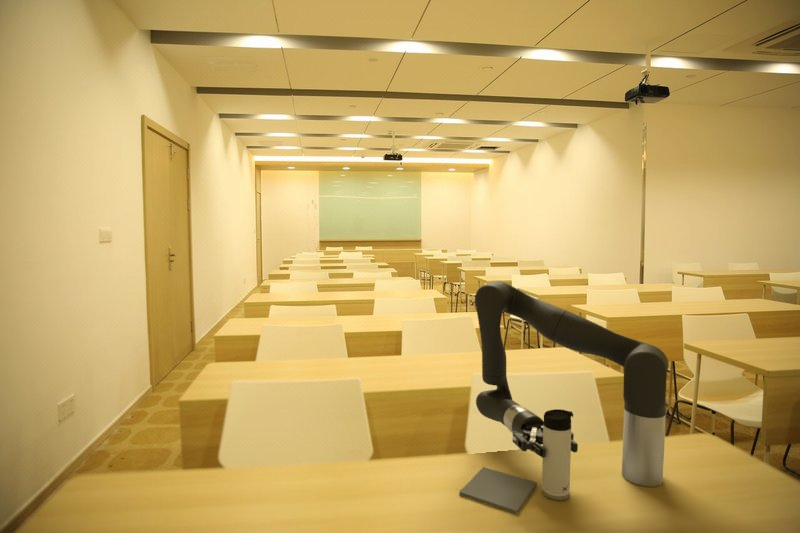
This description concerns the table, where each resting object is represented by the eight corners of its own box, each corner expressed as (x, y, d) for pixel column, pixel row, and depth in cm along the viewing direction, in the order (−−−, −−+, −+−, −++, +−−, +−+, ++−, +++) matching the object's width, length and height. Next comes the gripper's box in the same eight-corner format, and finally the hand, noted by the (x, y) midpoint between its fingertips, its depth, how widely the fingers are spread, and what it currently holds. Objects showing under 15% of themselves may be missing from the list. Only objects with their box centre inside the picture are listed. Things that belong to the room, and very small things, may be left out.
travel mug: (572, 502, 111) (575, 418, 109) (543, 499, 112) (544, 415, 111) (569, 488, 117) (571, 407, 115) (540, 485, 118) (542, 405, 117)
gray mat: (483, 469, 126) (483, 466, 126) (536, 485, 118) (536, 482, 118) (459, 495, 114) (459, 491, 114) (516, 514, 107) (516, 510, 107)
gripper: (499, 413, 126) (533, 439, 110) (547, 406, 130) (587, 431, 114) (499, 440, 126) (533, 471, 111) (546, 433, 130) (586, 462, 115)
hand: (560, 451), depth 113 cm, fingers open, 8 cm apart
